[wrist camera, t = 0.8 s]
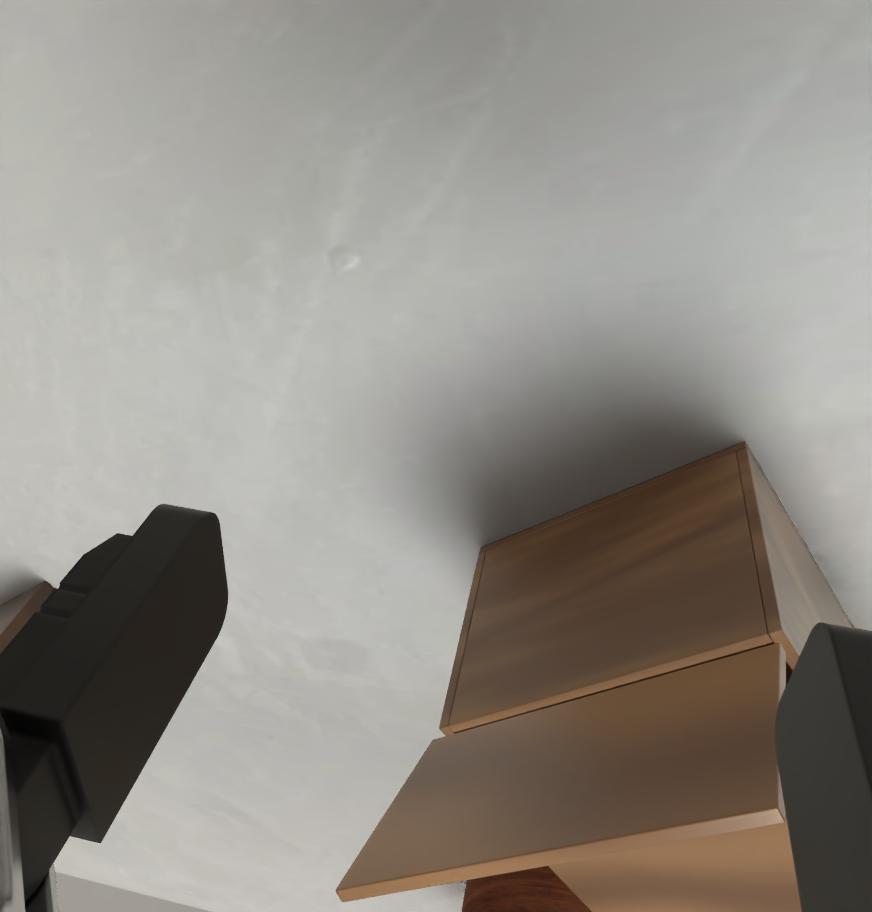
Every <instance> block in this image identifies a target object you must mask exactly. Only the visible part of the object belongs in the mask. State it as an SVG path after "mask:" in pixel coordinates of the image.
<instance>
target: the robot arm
mask: <svg viewBox="0 0 872 912" xmlns="http://www.w3.org/2000/svg"><path fill="white" fill-rule="evenodd" d="M227 604H228V588H227V579H226V571H225V563H224V555H223V547H222V538H221V530H220V523H219V520H218V517H217V516H216V514H215V513H212V512H206V511H201V510H195V509H190V508H184V507H178V506H173V505H167V504H161V505H159V506H157V507H156V508H155V509H154V510H153V511H152V512H151V513H150V515H149V516H148V517H147V518H146V520H145V521H144V522H143V523H142V525H141V526H140V527H139V529H138V530H137V531H136V532H135V534H134V535H133V536H129V535H124V534H118V533H117V534H116V535H114V536H113V537H111V538H109V539H108V540H106V541H105V542H103V543H102V544H100V545H98V546H97V547H95V548H94V549H92V550H90V551H89V552H87V553H86V554H84V555H83V556H82V557H81V558H80V560H79V561H78V562H77V563H76V564H75V566H74V567H73V568H72V569H71V570H70V571H69V573H68V574H67V575H66V576H65V577H64V579H63V580H62V581H61V582H60V587H59V589H56V588H55V589H54V591H53V592H52V593H51V594H50V595H49V597H48V598H47V599H46V600H45V601H44V602H43V604H42V605H41V609H40V611H39V612H35V613H34V614H33V616H32V617H31V618H30V619H29V620H28V622H27V623H26V624H25V625H24V626H23V627H22V629H21V630H20V631H19V632H18V633H17V635H16V636H15V637H14V638H13V639H12V641H11V642H10V643H9V644H8V645H7V647H6V648H5V649H4V650H3V651H2V652H1V654H0V912H60V910H59V901H58V892H57V883H56V874H55V869H54V864H53V863H54V861H55V859H56V858H57V856H58V854H59V853H60V851H61V849H62V848H63V846H64V844H65V843H66V841H67V839H68V838H69V836H72V837H76V838H80V839H85V840H89V841H93V842H97V843H101V842H102V840H103V838H104V836H105V835H106V833H107V831H108V829H109V828H110V826H111V824H112V822H113V820H114V819H115V817H116V815H117V813H118V812H119V810H120V808H121V806H122V805H123V803H124V801H125V799H126V798H127V796H128V794H129V792H130V790H131V789H132V787H133V785H134V783H135V782H136V780H137V778H138V776H139V775H140V773H141V771H142V769H143V767H144V766H145V764H146V762H147V760H148V759H149V757H150V755H151V753H152V752H153V750H154V748H155V746H156V745H157V743H158V741H159V739H160V737H161V736H162V734H163V732H164V730H165V729H166V727H167V725H168V723H169V722H170V720H171V718H172V716H173V715H174V713H175V711H176V709H177V707H178V706H179V704H180V702H181V700H182V699H183V697H184V695H185V693H186V692H187V690H188V688H189V686H190V684H191V683H192V681H193V679H194V677H195V676H196V674H197V672H198V670H199V669H200V667H201V665H202V663H203V662H204V660H205V658H206V656H207V654H208V653H209V651H210V649H211V647H212V646H213V644H214V642H215V640H216V639H217V637H218V635H219V633H220V630H221V628H222V625H223V622H224V619H225V615H226V610H227ZM775 749H776V756H777V762H778V768H779V774H780V780H781V787H782V793H783V799H784V805H785V811H786V817H787V824H788V830H789V836H790V842H791V848H792V855H793V861H794V867H795V873H796V879H797V885H798V892H799V898H800V904H801V910H802V912H872V631H867V630H862V629H856V628H850V627H845V626H839V625H834V624H828V623H822V622H819V623H817V624H816V625H815V626H814V627H813V629H812V630H811V632H810V634H809V636H808V639H807V641H806V643H805V645H804V647H803V650H802V652H801V654H800V656H799V658H798V661H797V663H796V665H795V667H794V670H793V672H792V674H791V676H790V678H789V681H788V683H787V685H786V687H785V690H784V692H783V694H782V696H781V699H780V701H779V705H778V709H777V714H776V720H775Z"/></svg>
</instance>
